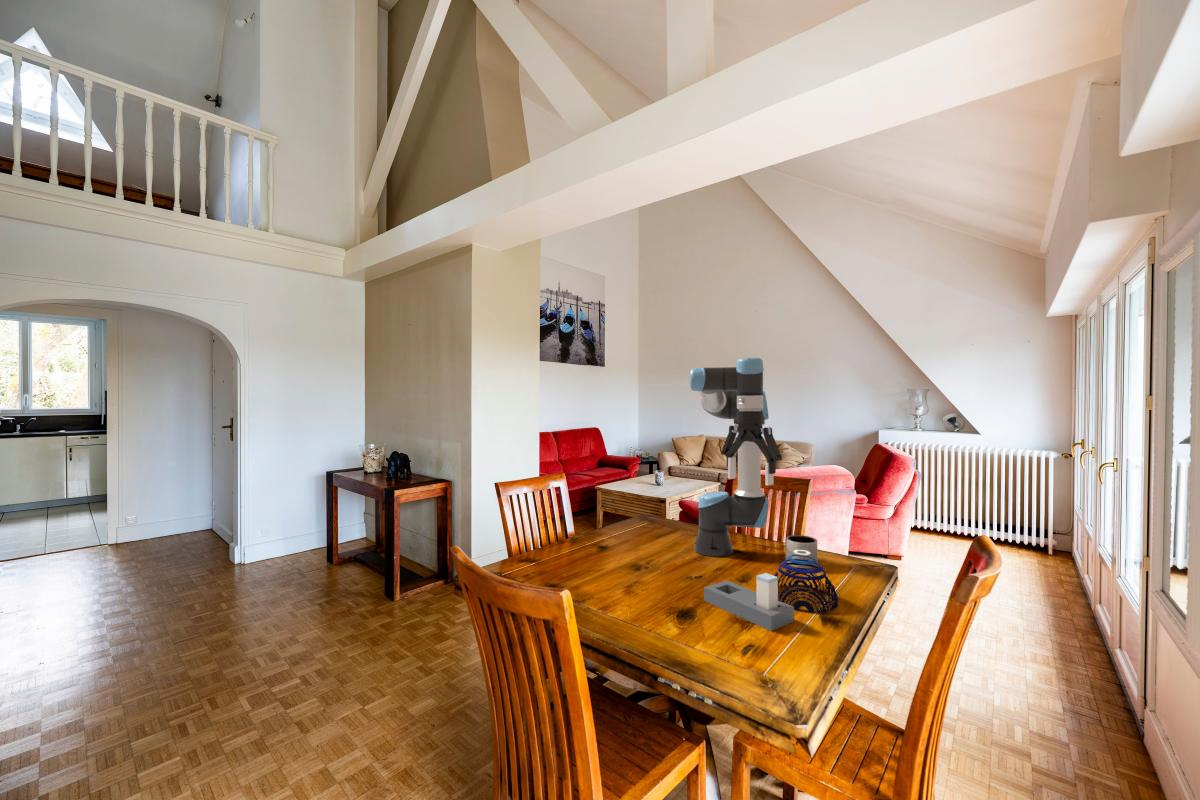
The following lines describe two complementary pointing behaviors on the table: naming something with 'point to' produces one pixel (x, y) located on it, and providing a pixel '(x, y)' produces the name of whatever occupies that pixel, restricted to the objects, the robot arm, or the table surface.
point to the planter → (801, 548)
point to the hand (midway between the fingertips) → (750, 481)
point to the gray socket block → (747, 605)
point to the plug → (767, 591)
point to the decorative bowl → (805, 571)
